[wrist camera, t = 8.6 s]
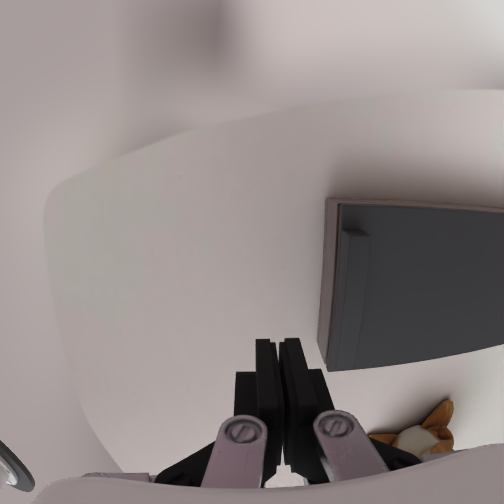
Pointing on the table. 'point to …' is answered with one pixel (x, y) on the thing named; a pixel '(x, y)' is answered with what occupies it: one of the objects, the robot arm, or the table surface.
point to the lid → (415, 285)
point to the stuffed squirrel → (425, 434)
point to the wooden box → (332, 247)
